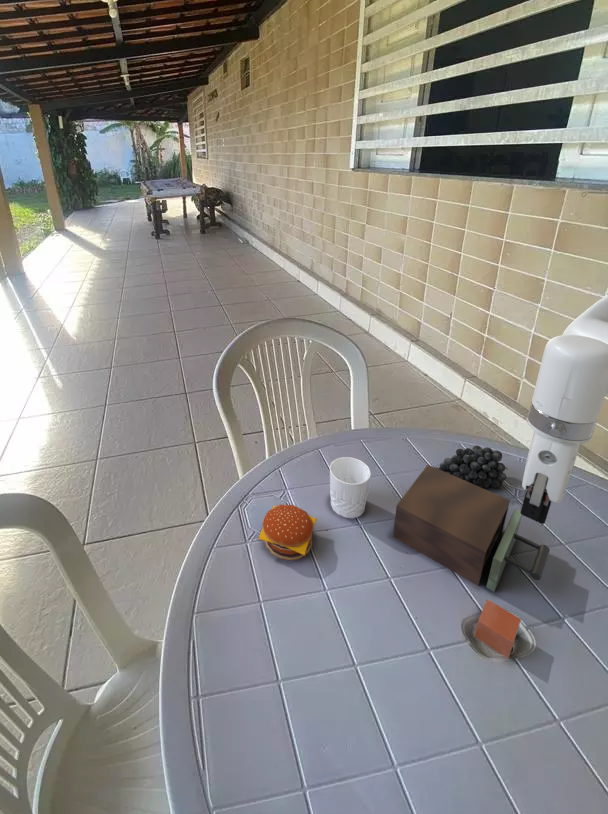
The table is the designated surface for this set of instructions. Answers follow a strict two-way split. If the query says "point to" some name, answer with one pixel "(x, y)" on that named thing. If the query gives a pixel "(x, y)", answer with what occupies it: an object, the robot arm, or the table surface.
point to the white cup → (349, 486)
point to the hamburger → (288, 532)
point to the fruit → (476, 466)
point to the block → (497, 628)
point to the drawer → (505, 550)
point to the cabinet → (450, 521)
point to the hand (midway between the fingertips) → (533, 516)
